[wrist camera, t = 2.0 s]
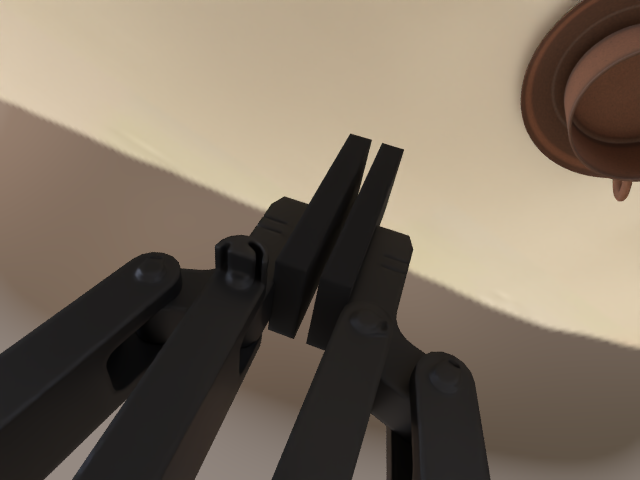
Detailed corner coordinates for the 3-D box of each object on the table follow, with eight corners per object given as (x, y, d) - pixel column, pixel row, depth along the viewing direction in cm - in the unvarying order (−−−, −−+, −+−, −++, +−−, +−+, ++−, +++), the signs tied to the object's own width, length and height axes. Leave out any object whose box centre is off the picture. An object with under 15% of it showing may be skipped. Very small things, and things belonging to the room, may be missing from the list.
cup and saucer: (767, 127, 27) (816, 182, 22) (547, 183, 33) (552, 235, 29) (754, -90, 22) (816, -74, 17) (496, 27, 28) (492, 60, 24)
